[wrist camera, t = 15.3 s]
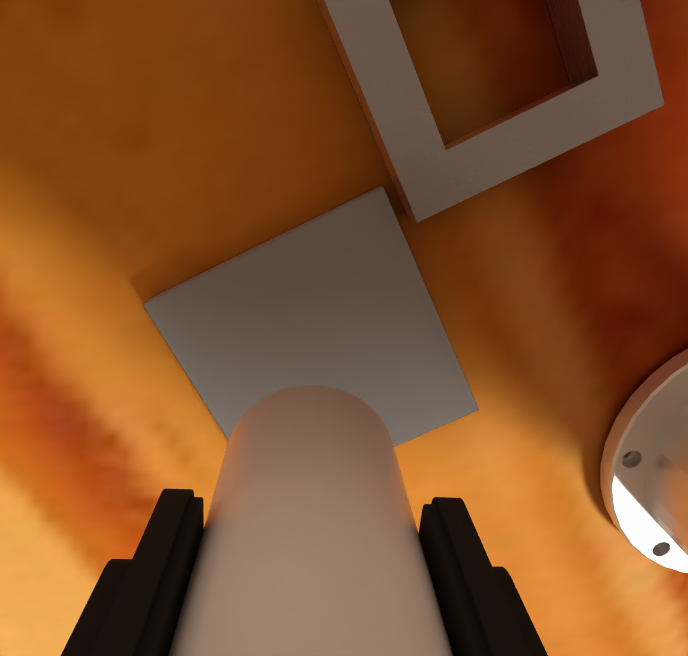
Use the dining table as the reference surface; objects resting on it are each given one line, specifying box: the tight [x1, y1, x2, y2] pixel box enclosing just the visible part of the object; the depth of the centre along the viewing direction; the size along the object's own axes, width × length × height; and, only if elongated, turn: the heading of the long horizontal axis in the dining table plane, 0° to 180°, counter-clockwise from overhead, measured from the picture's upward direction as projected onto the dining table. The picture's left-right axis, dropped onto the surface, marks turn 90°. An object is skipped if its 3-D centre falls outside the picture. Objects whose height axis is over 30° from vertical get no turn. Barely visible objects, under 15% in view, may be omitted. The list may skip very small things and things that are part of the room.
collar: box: [316, 0, 665, 223], centre depth 17 cm, size 9×9×2 cm
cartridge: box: [168, 386, 453, 656], centre depth 9 cm, size 4×4×9 cm
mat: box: [143, 186, 479, 447], centre depth 21 cm, size 10×10×1 cm
